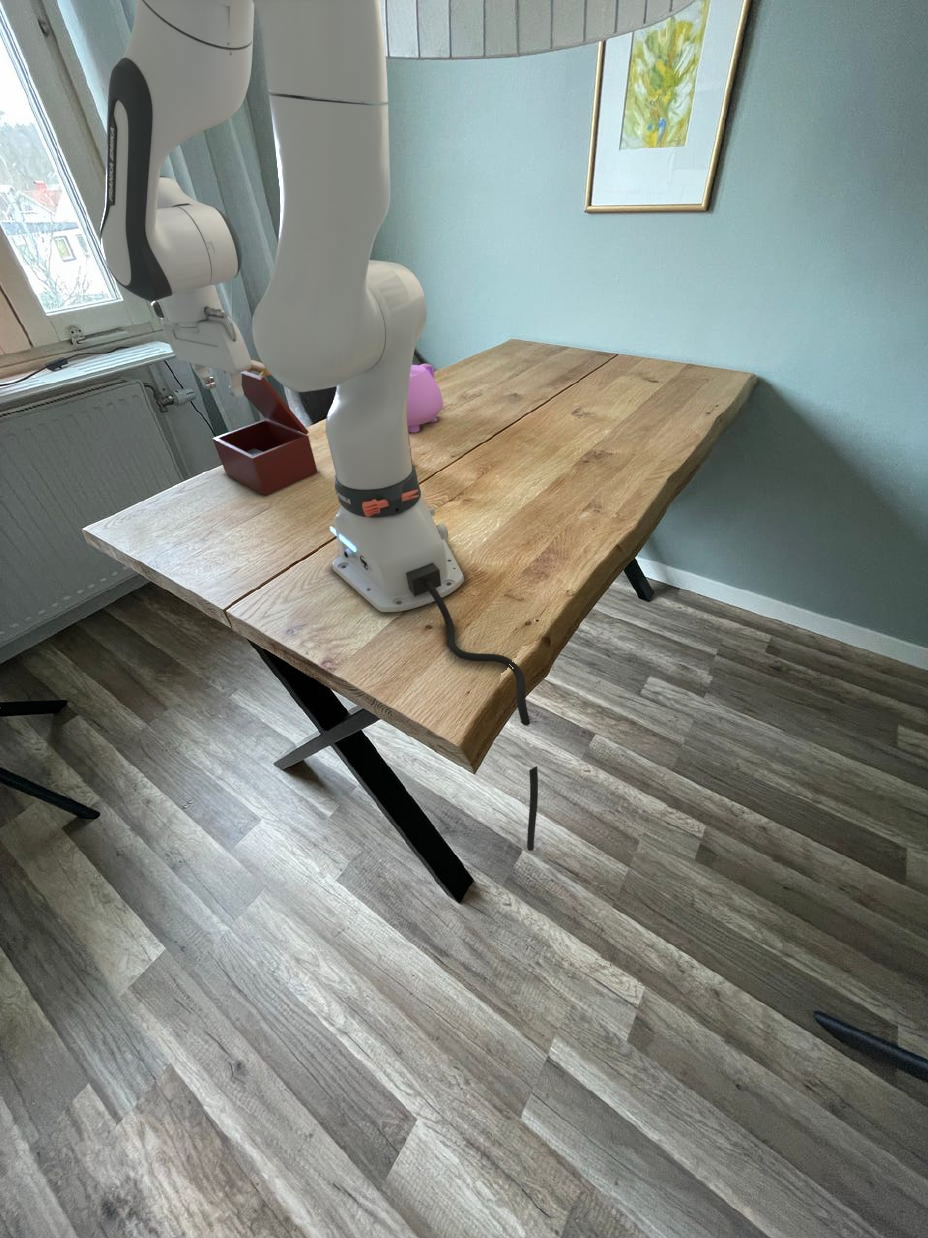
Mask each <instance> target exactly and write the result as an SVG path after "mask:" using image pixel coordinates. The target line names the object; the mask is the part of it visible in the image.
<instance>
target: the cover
mask: <svg viewBox="0 0 928 1238" xmlns="http://www.w3.org/2000/svg"><path fill="white" fill-rule="evenodd" d="M252 371H254V372H257V373H259V374H255V373H253V372H252ZM222 372H223V373H224V374H225V375H226V373H225V371H222ZM241 373H242V388H243V391H244V395H243V396H245V398H246V399H247V400H248V401H249V402H250V403H251V404H252V406H253V407H254V408H256V410H257V411H258V412H259V413H260V415H262V417H264V419H268V420H271V421H273V422H276V423H278V424H281V425H283V426H286V427H288V428H290V429H293V430H295V431H298V432H300V433H303V434H305V435H307V436H308V434H309V433H310V432H309V430H308V429H307V428H306V427H305V425H304V424H303V423H302V422H301V421H300V419H299V418H298V417H297V416H296V414H295V413H294V412H293V411H292V410H291V408H290V407H289V406H288V405H287V404H286V402H285V401H284V399H282V397H281V396H280V395H279V394H278V393H277V392H276V391H275V389H274V388H273V387H272V386H271V384H270V383H269V381H267V379H265V377H266V376H272V375H271V374H270V373H269V372H268V370H267V369H266V368H265V366H264V365H263V363H262V361H261V362H260V361H257V360H254V359H251V369H249V370H247V371H244V372H241Z"/></svg>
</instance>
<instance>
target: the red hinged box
mask: <svg viewBox="0 0 928 1238" xmlns="http://www.w3.org/2000/svg"><path fill="white" fill-rule="evenodd" d="M212 441H213V444H214V447H215V449H216V452H217V454H218V456H219V459H220V462H221V464H222V467H223V470H224V473H225V475H227V476H229V477H231V478H233V479H234V480H236V481H238V482H239V483H242V484H243V485H245V486H247V487H249V488H251V489H252V490H254V491H256V492H257V493H259V494H261V495H263V496H265V497H266V496H268V495H270V494H273V493H276V492H277V491H280V490H282V489H283V488H285V487H288V486H290V485H293V484H294V483H297V482H300V481H301V480H304V479H306V478H308V477H310V476H313V475H315V474H317V473H318V471H319V470H318V468H317V464H316V460H315V456H314V452H313V448H312V445H311V440H310V437H309V435H308V434H307V435H306V434H303V433H301V432H299V431H296V430H294V429H291V428H289V427H286V426H284V425H281V424H279V423H277V422H274V421H272V420H269V419H267V418H264V419H262V420H259V421H256V422H253V423H251V424H248V425H246V426H243V427H240V428H237V429H235V430H232V431H229V432H226V433H223V434H221V435H218V436H215V437H213V438H212ZM254 448H255V449H257V450H260V451H263V453H260V454H258V455H255V456H253V455H251V454H249V453H247V451H249V450H252V449H254Z"/></svg>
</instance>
